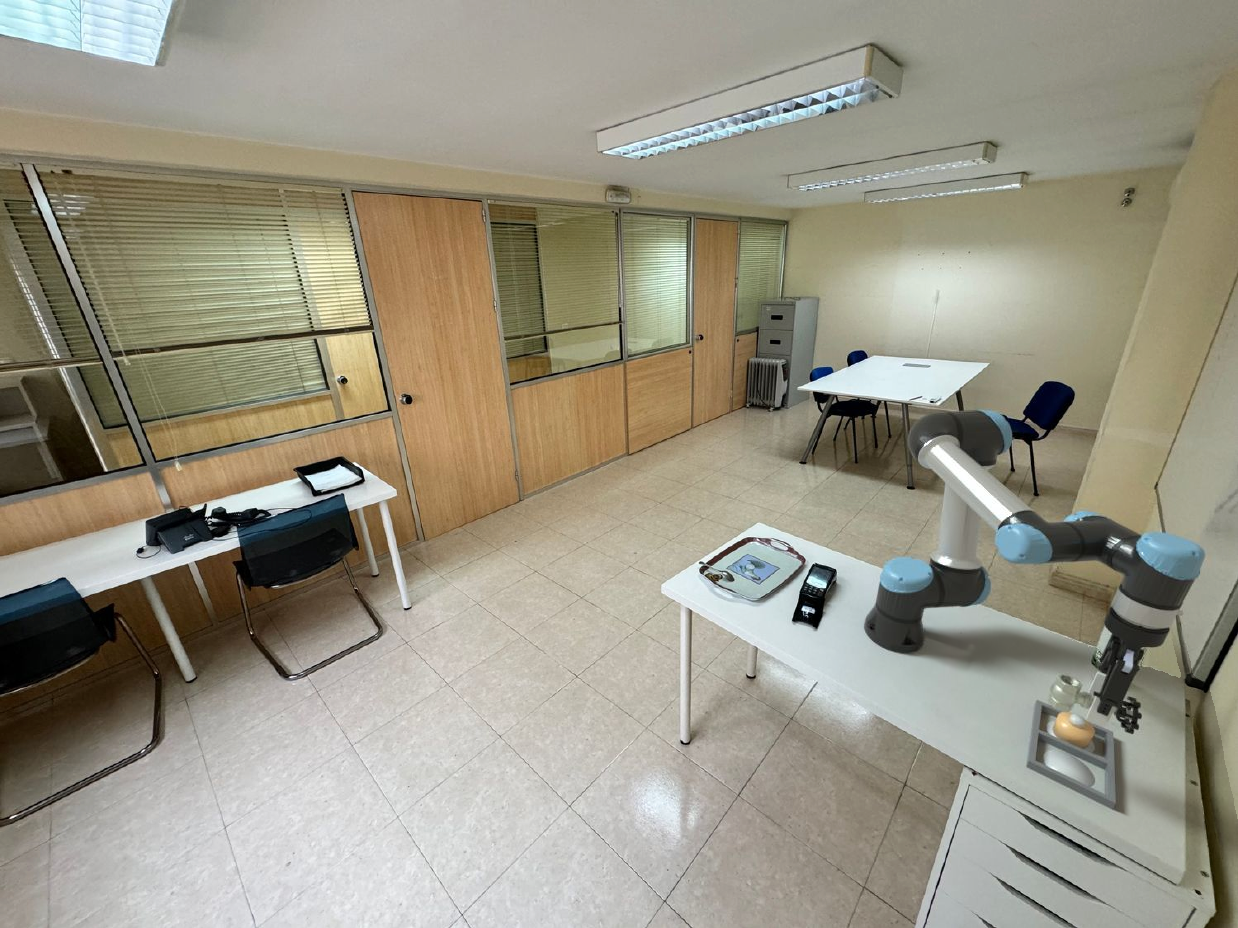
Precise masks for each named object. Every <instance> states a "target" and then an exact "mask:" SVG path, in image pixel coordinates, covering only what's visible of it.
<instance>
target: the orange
mask: <svg viewBox="0 0 1238 928" xmlns="http://www.w3.org/2000/svg"><path fill="white" fill-rule="evenodd" d="M1054 721H1055V724H1054V726H1053V733H1054V734H1055V736H1056V737H1057V738H1059V739H1061V740H1064V741H1066V742H1068V743H1070V744H1072V745H1075V746H1077V747H1079V748H1081V749H1086V748H1087V747H1088V746H1089V744H1090V742H1091V740H1092V739H1093V737H1094V735H1095V734H1094V733H1095V730H1094V728H1093V726H1092V725H1091V724H1090V723H1089V722H1090V721H1089V722H1088V720H1086V718H1085V717H1083V716H1081V715H1080V714H1078V713H1073V712H1070V711H1069V712H1068V713H1066V712H1061V713H1059V714H1058V717H1057V718H1056V719H1055V720H1054Z"/></svg>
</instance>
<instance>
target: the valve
mask: <svg viewBox="0 0 1238 928" xmlns="http://www.w3.org/2000/svg"><path fill="white" fill-rule="evenodd" d="M1082 688H1083V684H1082V682H1081V681H1080V680H1079V679H1077V678H1076V677H1075V676H1073V675H1070V674H1066V673H1060V674H1058V675H1057V676H1056V678H1055V680H1054V682H1053V683H1052V684H1051V686H1050V688H1049V689H1050V690H1049V691H1050V694H1049V695H1048V698H1047V702H1048V704H1049V705H1051V706H1052V707H1053V708H1055V709H1057V710H1059V711H1062V712H1066V713H1068V712H1070V711H1072V710H1073V708H1074V707H1075V704H1078V705H1079V706H1080V707H1081V708H1084V709H1087V710H1090V708H1091V705H1092V703H1093V701H1094V699H1095V698H1092V695H1091V694H1090V693H1088V692H1087V691H1085V690H1084V691H1082V692H1081V690H1082ZM1126 700H1128V701H1126ZM1126 700H1123V702H1122V704H1121V707H1120V708H1117V707H1115V709H1114V711H1113V715H1114V716H1115V718H1116V720H1117V721H1118V722H1119V723H1120V727H1121V728H1122V729H1124V732H1125V733H1127V734H1131V735H1133V734H1135V730H1137V731H1138V730H1139V728H1140V724H1139V723H1138V721H1139V720H1141V719H1142V718H1143V714H1142V713H1141V712H1139V710H1140V709H1141V707H1142V706H1141V705H1142V704H1141V702H1140V701H1137V698H1135V697H1133V696H1129V695H1128V696H1127V697H1126Z"/></svg>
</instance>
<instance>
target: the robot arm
mask: <svg viewBox="0 0 1238 928" xmlns="http://www.w3.org/2000/svg"><path fill="white" fill-rule="evenodd" d="M1012 442H1013V432H1012V428H1011V425H1010V423H1009V422H1008V421H1007V420H1006V418H1005V416H1004V415H1002V414H1001V413H999V412H997V411H994V410H986V409H985V410H983V409H968V410H956V411H945V412H944V411H938V412H937V411H935V412H932V413H928V414H925V415H924V416H922V417H920V418H919V419H918V420H916V421H915V422H914V423H913V425H912V426H911V428H910V429H909V432H908V435H907V446H908V450H909V452H910V453H911V455H912V457H913V458H914V460H915V461H916V462H918V464H919V465H921V466H922V467H923V468H926V469H929V470H932V471H933V472H934V473H935V474H936V475H937V476H938V477H939V478H940V479H942V481H943V482H944V490H943V491H944V492H943V493H944V494H943V502H942V508H941V509H942V510H941V519H940V526H939V527H940V528H939V537H938V545H937V549H936V550H934V551H933V552H932V553H930V556H929V557H930V558H929V564H928V563H927V562H925V561H923V560H921V559H919V558H912V556H911V557H910V556H899V557H894V558H891V559H890V560H888V561H886V562H885V563H884V566H883V567H882V570H881V573H880V575H879V582H878V583H879V584H878V590H877V594H876V599H875V604H874V605H873V607H872V608H871V610H870V611H869V612H868V614H866V616H865V619H864V623H863V625H864V626H863V629H864V632H865V633H866V635H867V637H868V638H869V639H871V641H873V642H874V643H875V644H877V645H878V646H880V647H881V648H884V649H885V650H888V651H892V652H895V653H901V654H912V653H915V652H918V651H920V650H921V649H922V648H923V646H924V643H925V639H926V637H925V629H924V624H923V616H924V611H925V610H926V609H935V608H939V609H940V608H953V607H960V608H966V607H970V606H977V605H980V604H982V603H983V602H985V601H986V600H987V598H989V596H990V593H991V589H992V581H991V578H989V576H990V574H989V573H988V571H987V569H986V568H985V567H984V566H983V562H982V560H981V559H980V558H979V557H977V554H978V553H977V552H978V551H977V550H978V545H979V537H980V536H979V535H980V529H981V521H982V520H983V521H984V522H985V523H986V524H987V525H988V526H989V527H991V529H992V530H993V531H994V532H995V533H996V534H995V537H994V538H995V539H994V543H995V547H996V548H997V549H998V553H999V555H1000V556H1001V557H1002V558H1003V559H1004V560H1006V561H1007V562H1009V563H1011V564H1015V565H1035V566H1036V565H1037V566H1038V565H1043V564H1055V563H1057V564H1058V563H1074V562H1075V563H1076V562H1079V563H1080V562H1094V561H1095V562H1096V561H1097V562H1099V563H1101V564H1103V565H1105V566H1106V567H1108V568H1110V569H1111V570H1114V571H1115V572H1117V573H1120V574H1121V575H1122V576H1123V577H1122V579H1121V581H1120V584H1119V586H1118V588H1117V590H1116V592H1115V594H1114V597H1113V599H1112V602H1111V603H1110V604H1111V606H1110V607H1109V610H1108V612H1107V614H1106V616H1105V618H1104V621H1103V622H1104V623H1103V624H1104V626H1105V628H1106V629H1107V630H1108V632H1110V633H1111V635H1110V637H1109V639H1108V641H1107V643H1106V646H1105V647H1104V649H1103V652H1102V654H1101V656H1100V657H1099V659H1098V660H1099V663H1100V664H1099V665H1098V667H1097V668H1098V671H1097V672H1096V674H1095V676H1094V679H1093V681H1092V683H1091V685H1090V687H1089V689H1088V692H1087V693H1090V694H1091V695H1092V698H1095V699H1094V701H1093V703H1092V705H1091V707H1090V708H1089V709H1088V712H1087V715H1086V717H1085V720H1087V721H1089V722H1091V723H1093V724H1096V725H1098V726H1101V727H1103V728H1105V729H1107V725H1108V723H1109V721H1110V719H1111V717H1112V715H1114V713H1113V711H1114V709H1115V707H1117V708H1120V707H1121V704H1122V702H1123V701H1125V697H1126V696H1127V693H1128V691H1129V689H1130V686H1131V685H1132V682H1133V680H1134V678H1135V676H1136V675H1137V674H1138V672H1139V671H1140V670H1141V669H1140V666H1139V661H1141V660H1142V659H1143V656H1144V654H1145V652H1144V650H1143V648H1157V647H1158V648H1159V647H1161V646H1162V645H1163V644H1164V643H1165V641H1166V638H1167V637H1168V635H1169V633H1170V631H1171V630H1170V629H1171V627H1172V625H1173V623H1174V622H1175V620H1176V616H1179V617H1182V616H1183V615H1184V611H1183V610H1181V607H1182V606H1183V604H1184V601H1185V599H1186V597H1187V595H1188V593H1189V591H1190V590H1191V588H1192V586H1193V584H1194V583H1195V581H1196V579H1197V578H1199V576H1200V574H1201V569H1202V565H1203V563H1204V561H1205V558H1206V552H1205V550H1204V548H1202V546H1201V545H1199V544H1198V543H1196V542H1194V541H1193V540H1191V539H1189V538H1185V537H1181V536H1178V535H1175V534H1172V533H1166V532H1159V531H1151V532H1146V533H1144V534H1141V533H1139V532H1137V531H1134V530H1133V529H1130V528H1128V527H1126V526H1125V525H1122V524H1121V523H1119V522H1116V521H1115V520H1114V519H1112V518H1110V517H1107V516H1105V515H1101V514H1099V513H1096V512H1094V511H1090V510H1080V511H1076V512H1075V513H1074V514H1069V515H1068V516H1067V517H1066V518H1065V519H1064V520H1063V521H1054V522H1053V521H1051V522H1049V521H1047V520H1046V519H1045V518H1043V517H1042V516H1041V515H1039V514H1038V513H1037V512H1035V511H1034V510H1033V509H1032V508H1031V507H1030V506H1029V505H1028V504H1026V503H1025V502H1024V501H1023V500H1021V498H1020V497H1018V496H1017V495H1016V494H1015V493H1014V492H1013V491H1011V490H1010V489H1009V488H1008V487H1006V486H1005V485H1004V484H1003V483H1002V482H1001V481H1000V480H998V478H996V477H995V476H994V475H993V474H991V473H990V471H989V470H990V469H992V468H993V467H996V464H997V458H998V456H1000V455H1002V454H1004V453H1006V452H1007V450H1009V449H1010V447H1011V445H1012Z"/></svg>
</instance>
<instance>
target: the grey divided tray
mask: <svg viewBox="0 0 1238 928" xmlns="http://www.w3.org/2000/svg"><path fill="white" fill-rule="evenodd" d="M1042 712H1043V714H1044V713H1045V714H1047V715H1049V716H1051V717H1054V718H1056V719H1057V717H1058V714H1059V713H1061V712H1062V711H1059V710H1057V709H1055V708H1053V707H1052V706H1051V705H1050V704H1049V703H1046V702H1043V701H1041V700H1038V699H1037V700H1036V701H1035V703H1034V707H1033V714H1032V721H1031V728H1030V736H1029V742H1028V751H1027V756H1026V757H1027V758H1026V764H1025V765H1026V766H1025V768H1027V769H1029V770H1032V771H1034V772H1036V773H1038V774H1040V775H1041V776H1044V777H1045V778H1048V779H1050V780H1052V781H1054V782H1056V783H1058V784H1060V785H1061V786H1064V787H1066V788H1067V789H1070V790H1072V791H1074V792H1076V793H1078V794H1081V795H1082V796H1084V797H1086V798H1089V799H1090V800H1092V801H1094V802H1096V803H1098V804H1100V805H1102V806H1104V807H1107V808H1109V809H1110V810H1113V809H1114V808H1115V806H1116V804H1117V803H1116V801H1117V800H1116V776H1115V775H1116V774H1115V772H1116V771H1115V770H1116V769H1115V745H1114V744H1115V743H1114V740H1115V739H1114V738H1115V737H1114V731H1112V730H1110V729H1107V728H1105V727H1102V726H1100V725H1098V724H1095V723H1093V722H1090V721H1088V720H1087V721H1088V722H1089V723H1090V724H1091V725H1092V726H1093V728H1094V730H1095V733H1094V735H1096V736H1098V737H1100V738H1103V746H1104V747H1103V751H1104V754H1103V755H1104V757H1101V756H1099V755H1097V754H1094V753H1093V752H1094V751H1095V748H1096V746H1095V743H1094V741H1093V740H1092V739H1091V742H1090V744H1089V746H1088V747H1087V748H1086V749H1081V748H1079V747H1077V746H1075V745H1072V744H1070V743H1068V742H1066V741H1064V740H1061V739H1059V738H1057V737H1056V736H1055V734H1054V733H1053V726H1054V724H1055V721H1056V720H1050V721H1049V722H1048V723H1046V730H1047V731H1046V732H1045V731H1043V730H1041V729H1040V723H1041V716H1042ZM1038 740H1039V741H1041V742H1043V743H1044V744H1045V743H1046V744H1048V745H1050V746H1052V747H1053V748H1056V749H1050V750H1047V751H1046V752H1045V753H1044V754H1043V761H1044V763H1041V762H1039V761H1037V759H1036V757H1037V749H1038ZM1057 749H1058V750H1057ZM1060 750H1061V751H1060ZM1083 761H1085V762H1087V763H1089V764H1090V765H1093V766H1094V767H1098V768H1100V769H1102V770H1103V771H1104V792H1101V791H1099V790H1097V789H1096V788H1093V787H1092V786H1094V784H1095V781H1096V780H1095V776H1094V774H1093V772H1092V770H1091V769H1090V768H1089V767H1088V766H1087V765H1086V764H1085V763H1084V762H1083Z"/></svg>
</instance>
